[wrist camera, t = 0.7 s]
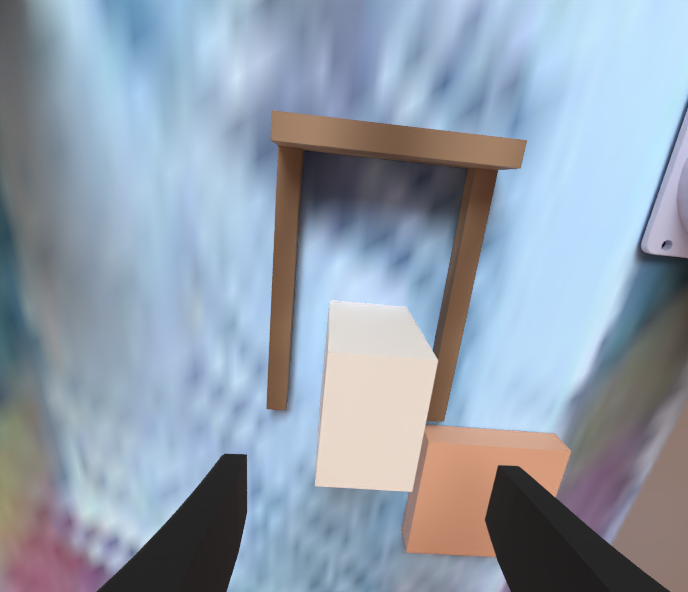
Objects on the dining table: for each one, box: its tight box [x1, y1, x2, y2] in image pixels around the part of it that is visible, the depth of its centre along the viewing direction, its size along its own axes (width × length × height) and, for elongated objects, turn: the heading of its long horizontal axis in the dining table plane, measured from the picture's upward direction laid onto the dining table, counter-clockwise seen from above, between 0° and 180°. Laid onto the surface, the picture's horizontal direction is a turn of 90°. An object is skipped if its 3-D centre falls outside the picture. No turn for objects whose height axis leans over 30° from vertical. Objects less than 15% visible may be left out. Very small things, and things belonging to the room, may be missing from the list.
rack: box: [267, 111, 527, 421], centre depth 17 cm, size 10×14×3 cm
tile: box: [402, 425, 571, 557], centre depth 22 cm, size 8×8×2 cm
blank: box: [315, 300, 438, 492], centre depth 17 cm, size 4×6×6 cm, turn 174°
